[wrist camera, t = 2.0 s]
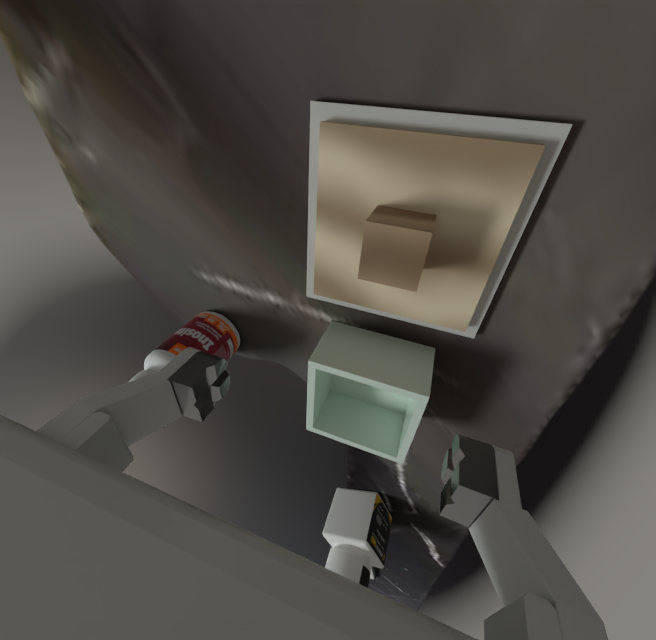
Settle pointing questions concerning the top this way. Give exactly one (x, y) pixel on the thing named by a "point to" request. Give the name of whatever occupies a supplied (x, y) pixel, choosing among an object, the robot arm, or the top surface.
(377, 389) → the pale green storage bin
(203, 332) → the pill bottle
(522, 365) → the top surface
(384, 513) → the medicine bottle
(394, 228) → the lid
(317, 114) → the mat
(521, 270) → the top surface
